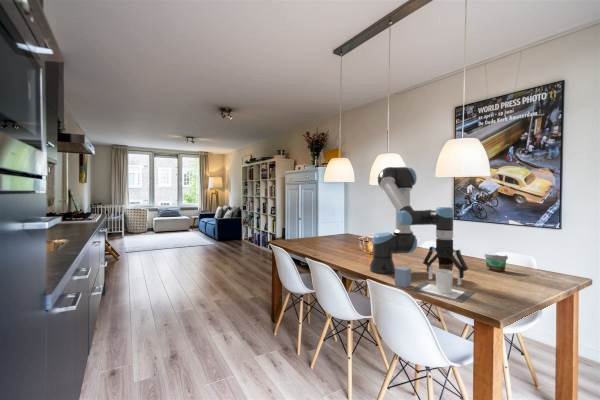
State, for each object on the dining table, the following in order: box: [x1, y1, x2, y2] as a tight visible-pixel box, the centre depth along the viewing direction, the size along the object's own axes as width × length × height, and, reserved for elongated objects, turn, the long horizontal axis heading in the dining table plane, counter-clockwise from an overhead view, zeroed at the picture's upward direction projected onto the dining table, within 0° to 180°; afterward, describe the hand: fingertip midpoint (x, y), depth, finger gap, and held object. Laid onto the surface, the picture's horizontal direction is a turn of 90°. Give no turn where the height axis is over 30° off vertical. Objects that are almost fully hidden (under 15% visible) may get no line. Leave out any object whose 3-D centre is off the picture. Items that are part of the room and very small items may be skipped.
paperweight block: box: [394, 266, 412, 289], centre depth 154 cm, size 6×6×9 cm
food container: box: [483, 253, 509, 273], centre depth 179 cm, size 12×6×10 cm, turn 68°
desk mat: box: [410, 281, 475, 304], centre depth 145 cm, size 24×18×1 cm
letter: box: [420, 284, 464, 299], centre depth 145 cm, size 17×13×1 cm
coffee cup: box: [437, 256, 454, 271], centre depth 167 cm, size 9×8×13 cm
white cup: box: [434, 268, 454, 293], centre depth 144 cm, size 8×8×10 cm
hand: (444, 281), depth 143 cm, fingers open, 13 cm apart
